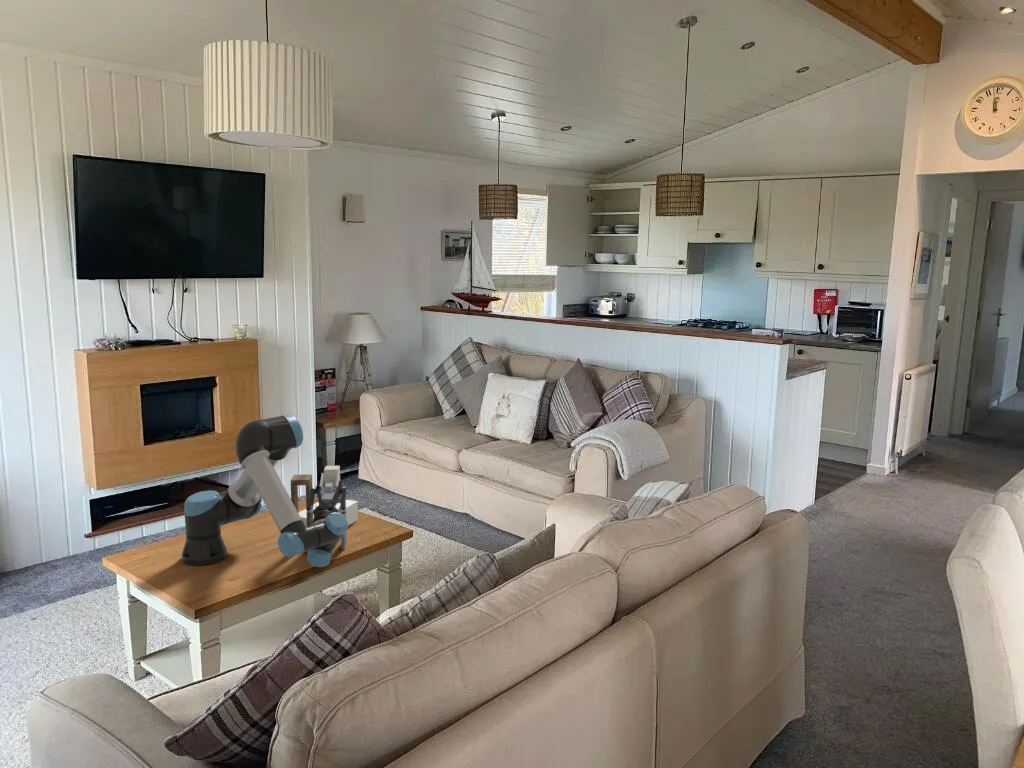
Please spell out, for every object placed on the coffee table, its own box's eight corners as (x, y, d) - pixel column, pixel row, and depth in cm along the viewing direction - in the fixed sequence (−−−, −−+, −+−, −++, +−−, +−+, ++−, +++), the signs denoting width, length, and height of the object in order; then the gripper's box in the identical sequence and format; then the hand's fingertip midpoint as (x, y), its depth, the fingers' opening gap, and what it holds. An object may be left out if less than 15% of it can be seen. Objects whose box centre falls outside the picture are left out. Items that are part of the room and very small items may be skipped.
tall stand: (292, 553, 282) (290, 480, 277) (296, 546, 289) (293, 474, 284) (311, 553, 282) (308, 479, 278) (313, 546, 289) (311, 474, 285)
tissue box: (292, 537, 299) (291, 510, 297) (327, 517, 323) (326, 491, 321) (325, 542, 295) (324, 514, 293) (357, 521, 318) (357, 495, 316)
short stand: (320, 549, 286) (318, 492, 283) (322, 542, 293) (321, 487, 289) (344, 549, 287) (343, 492, 283) (346, 542, 294) (345, 486, 290)
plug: (321, 492, 272) (320, 476, 271) (326, 481, 285) (326, 465, 284) (335, 492, 273) (334, 476, 272) (340, 481, 286) (339, 465, 285)
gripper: (298, 533, 263) (306, 483, 281) (351, 531, 265) (356, 482, 283) (295, 518, 259) (304, 468, 276) (349, 517, 260) (355, 467, 278)
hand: (331, 475), depth 280 cm, fingers closed on plug, 5 cm apart
